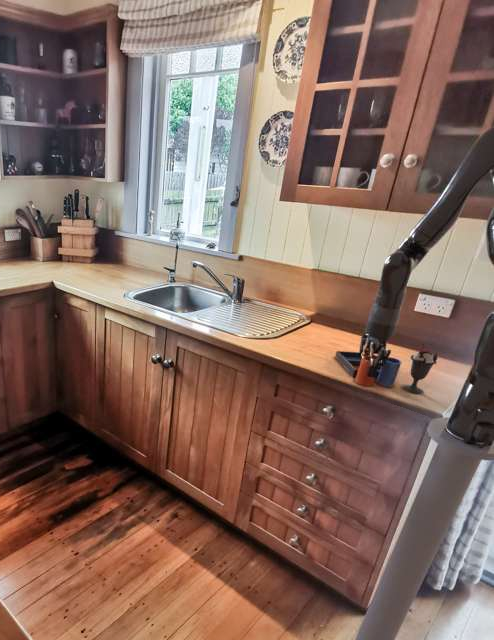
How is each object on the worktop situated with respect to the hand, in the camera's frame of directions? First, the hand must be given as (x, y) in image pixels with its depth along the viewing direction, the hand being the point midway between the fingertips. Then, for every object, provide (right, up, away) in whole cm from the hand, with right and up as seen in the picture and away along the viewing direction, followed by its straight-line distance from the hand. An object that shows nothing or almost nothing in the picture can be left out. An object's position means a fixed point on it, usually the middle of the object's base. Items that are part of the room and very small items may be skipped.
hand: (366, 372), depth 142 cm
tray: (+4, +1, +11) cm, 12 cm away
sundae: (+13, -5, -1) cm, 14 cm away
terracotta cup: (0, -3, +1) cm, 3 cm away
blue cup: (+6, -4, +2) cm, 8 cm away
